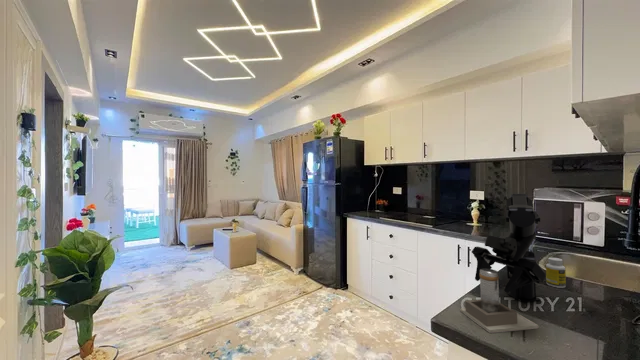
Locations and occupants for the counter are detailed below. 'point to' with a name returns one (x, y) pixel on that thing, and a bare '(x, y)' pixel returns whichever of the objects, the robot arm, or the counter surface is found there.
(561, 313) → the counter surface
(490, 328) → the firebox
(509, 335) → the counter surface
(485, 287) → the grey metal tumbler
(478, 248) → the robot arm
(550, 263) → the supplement bottle
